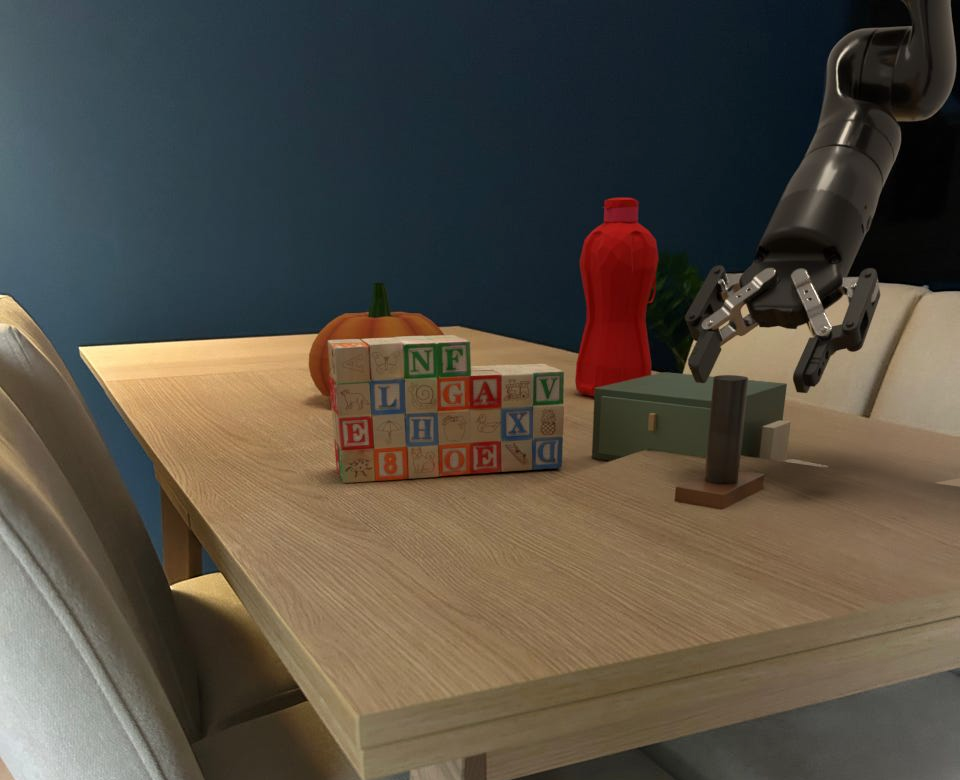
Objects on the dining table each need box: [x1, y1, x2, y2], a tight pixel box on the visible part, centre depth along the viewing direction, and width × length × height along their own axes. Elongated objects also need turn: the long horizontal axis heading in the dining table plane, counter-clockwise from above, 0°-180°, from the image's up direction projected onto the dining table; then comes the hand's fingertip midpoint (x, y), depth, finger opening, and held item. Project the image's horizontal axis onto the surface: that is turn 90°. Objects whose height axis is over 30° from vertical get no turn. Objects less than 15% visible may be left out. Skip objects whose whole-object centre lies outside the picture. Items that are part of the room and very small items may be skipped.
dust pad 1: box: [758, 420, 792, 462], centre depth 95 cm, size 4×4×1 cm
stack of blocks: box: [328, 334, 565, 484], centre depth 92 cm, size 21×6×12 cm, turn 104°
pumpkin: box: [308, 282, 445, 398], centre depth 129 cm, size 19×19×15 cm
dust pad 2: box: [782, 458, 829, 469], centre depth 90 cm, size 4×4×1 cm
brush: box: [674, 374, 765, 510], centre depth 76 cm, size 8×4×11 cm, turn 142°
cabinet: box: [591, 371, 788, 462], centre depth 98 cm, size 14×15×7 cm
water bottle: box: [574, 197, 659, 398], centre depth 130 cm, size 9×11×25 cm
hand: (746, 381), depth 76 cm, fingers open, 8 cm apart
